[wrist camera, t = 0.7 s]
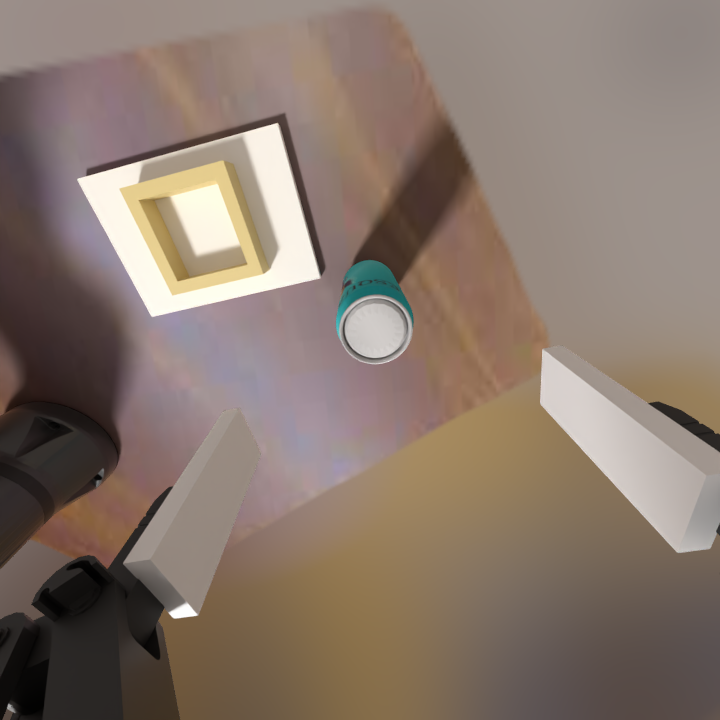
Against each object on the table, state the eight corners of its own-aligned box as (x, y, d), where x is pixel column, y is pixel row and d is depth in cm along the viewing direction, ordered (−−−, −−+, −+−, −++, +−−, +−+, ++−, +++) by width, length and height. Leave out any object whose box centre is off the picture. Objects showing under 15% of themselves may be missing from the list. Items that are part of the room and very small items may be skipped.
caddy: (156, 314, 36) (138, 324, 33) (85, 179, 30) (53, 176, 27) (321, 276, 35) (317, 283, 32) (280, 125, 29) (270, 115, 25)
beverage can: (344, 255, 34) (336, 287, 20) (397, 259, 34) (423, 294, 20) (342, 306, 36) (333, 365, 23) (390, 310, 36) (410, 370, 23)
